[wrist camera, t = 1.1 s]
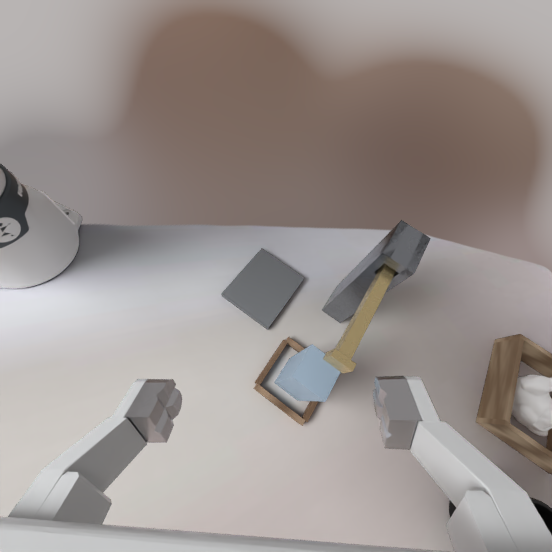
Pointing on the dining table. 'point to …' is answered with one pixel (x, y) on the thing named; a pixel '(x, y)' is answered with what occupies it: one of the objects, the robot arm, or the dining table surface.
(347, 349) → the bolt
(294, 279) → the mat
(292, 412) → the socket frame
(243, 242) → the dining table surface
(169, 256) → the dining table surface
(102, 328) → the dining table surface
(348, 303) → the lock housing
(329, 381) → the block
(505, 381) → the display box
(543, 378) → the rabbit figurine
